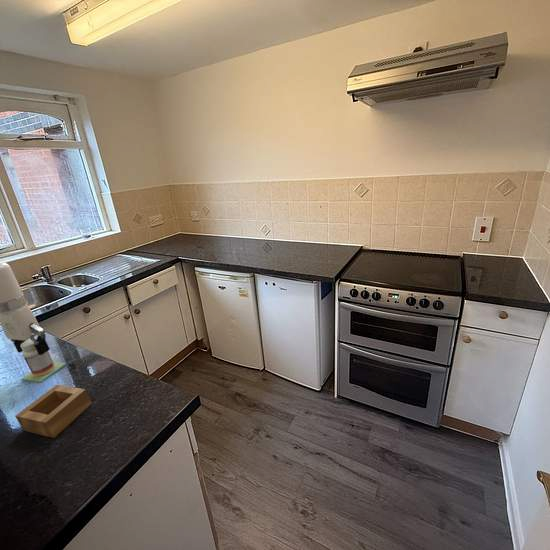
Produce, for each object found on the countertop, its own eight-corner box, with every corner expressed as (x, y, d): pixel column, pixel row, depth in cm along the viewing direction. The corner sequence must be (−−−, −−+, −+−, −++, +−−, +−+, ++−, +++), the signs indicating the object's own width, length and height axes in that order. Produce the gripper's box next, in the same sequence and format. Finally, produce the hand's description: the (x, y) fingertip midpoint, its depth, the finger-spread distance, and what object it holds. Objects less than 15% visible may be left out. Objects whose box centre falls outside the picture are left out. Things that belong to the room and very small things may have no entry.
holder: (23, 430, 76) (14, 415, 74) (63, 398, 85) (56, 384, 84) (53, 438, 72) (45, 422, 70) (91, 403, 82) (85, 389, 80)
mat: (21, 379, 97) (21, 378, 96) (48, 362, 105) (47, 360, 104) (40, 382, 94) (40, 381, 94) (66, 364, 102) (66, 363, 101)
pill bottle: (37, 368, 101) (23, 339, 97) (58, 362, 103) (44, 334, 98) (30, 379, 95) (14, 349, 91) (51, 373, 97) (37, 344, 93)
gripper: (-22, 308, 90) (4, 356, 96) (16, 310, 84) (41, 361, 90) (5, 297, 96) (28, 342, 102) (42, 298, 90) (64, 346, 97)
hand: (34, 351), depth 96 cm, fingers open, 9 cm apart
